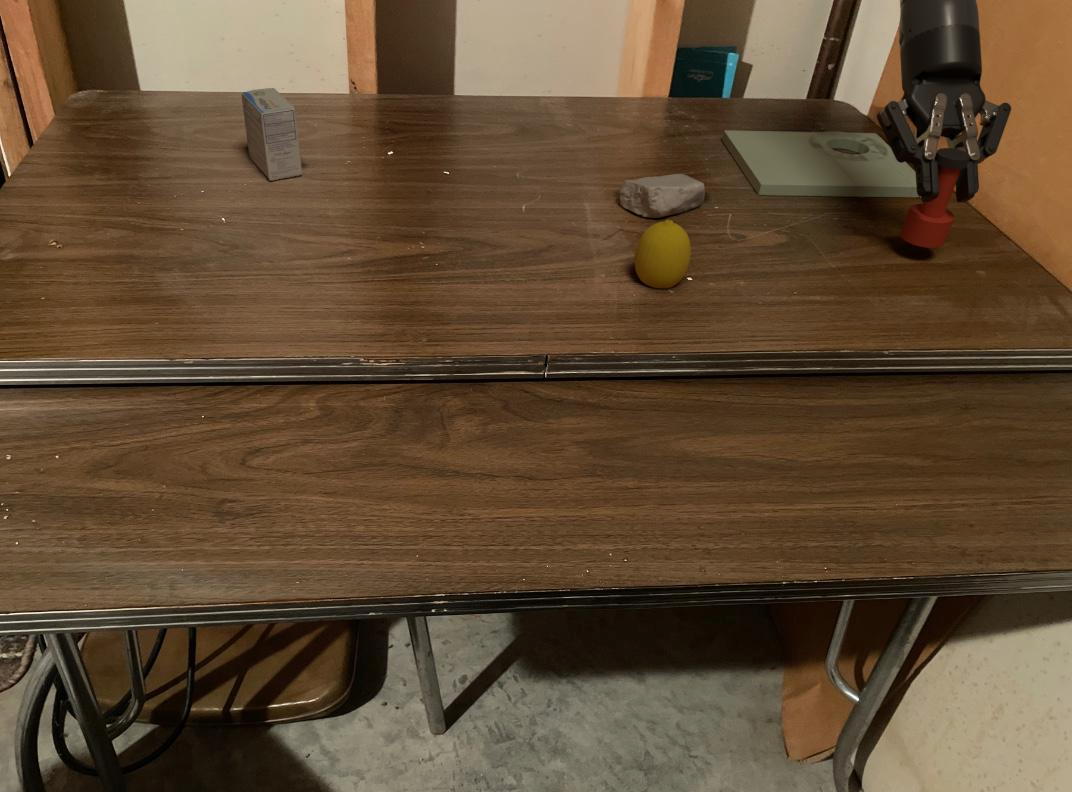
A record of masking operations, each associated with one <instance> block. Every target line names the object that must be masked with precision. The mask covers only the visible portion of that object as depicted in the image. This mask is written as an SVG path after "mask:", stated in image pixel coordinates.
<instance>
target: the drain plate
mask: <svg viewBox="0 0 1072 792" xmlns="http://www.w3.org/2000/svg"><path fill="white" fill-rule="evenodd" d="M721 141H722V143H723V144H724V146H725V148H726V149H727V150H728V152H729V153H730V155H731V157H732V158H733V159H734V161H735V162H736V164H737V166H738V167H739V168H740V170H741V171H742V173H743V174H744V176H745V177H746V179H747V181H748V182H749V184H750V185H751V186H752V188H753V189H754V191H755V192H756V194H757V196H779V197H781V196H783V197H789V196H790V197H844V198H845V197H846V198H847V197H852V198H853V197H854V198H856V197H857V198H910V199H911V198H912V199H913V198H917V197H918V198H917V199H921V197H920V198H919V196H918V194H917V189H916V187H917V186H916V172H915V169H913V168H912V167H911V166H910V165H909V163H908V162H903V163H900V162H898V161H897V160H896V158H895V156H894V154H893V152H892V149H891V147H890V145H889V143H888V142H887V143H886V141H885V140H884V139H883V138H882V137H880V135H878V133H876V132H875V133H874V132H845V131H783V130H781V131H780V130H779V131H777V130H775V131H774V130H730V129H729V130H728V129H725V130H723V134H722V139H721ZM835 149H836V150H835ZM837 149H839V150H840V149H841V150H847V151H852V152H855V154H853V153H852V154H851V153H846V152H841V151H838V150H837ZM856 153H858V154H856Z"/></svg>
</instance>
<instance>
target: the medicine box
mask: <svg viewBox="0 0 1072 792" xmlns="http://www.w3.org/2000/svg"><path fill="white" fill-rule="evenodd" d="M241 103H242V110H243V117H244V125H245V132H246V141H247V142H246V143H247V149H248V155H249V159H250V160H251V161H252V162H253V163H254V165H255V166H256V167H257V168H258V169H259V170H260V171H261V173H263V174H264V176H265V177H266V178H267V179H268V180H269V181H270V182H272V181H279V179H280V180H285V178H286V179H291V178H295V176H296V177H301V176H302V175H303V170H302V169H303V168H302V161H301V159H302V158H301V150H300V140H299V131H298V129H299V128H298V119H297V110H296V107H295V106H294V105H292V104H291V102H289V100H288V99H286V98H285V96H283V95H282V94H281V93H280V92H279V91H278V90H277V88H275V87H268V88H267V87H266V88H259V89H252V90H247V91H243V92H241ZM300 175H301V176H300Z"/></svg>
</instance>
